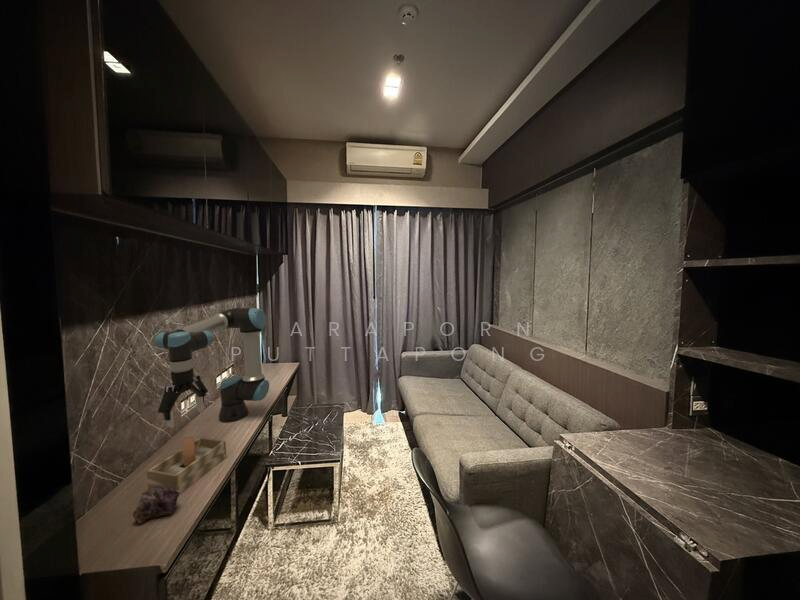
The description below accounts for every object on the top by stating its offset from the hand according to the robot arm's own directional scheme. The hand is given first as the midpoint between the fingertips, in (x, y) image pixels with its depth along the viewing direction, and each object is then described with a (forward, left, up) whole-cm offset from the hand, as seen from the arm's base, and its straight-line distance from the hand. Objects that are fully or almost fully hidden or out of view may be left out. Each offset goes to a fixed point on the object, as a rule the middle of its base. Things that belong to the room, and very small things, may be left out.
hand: (186, 418), depth 124 cm
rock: (+20, +8, -24) cm, 32 cm away
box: (0, 0, -24) cm, 24 cm away
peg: (0, 0, -24) cm, 24 cm away
